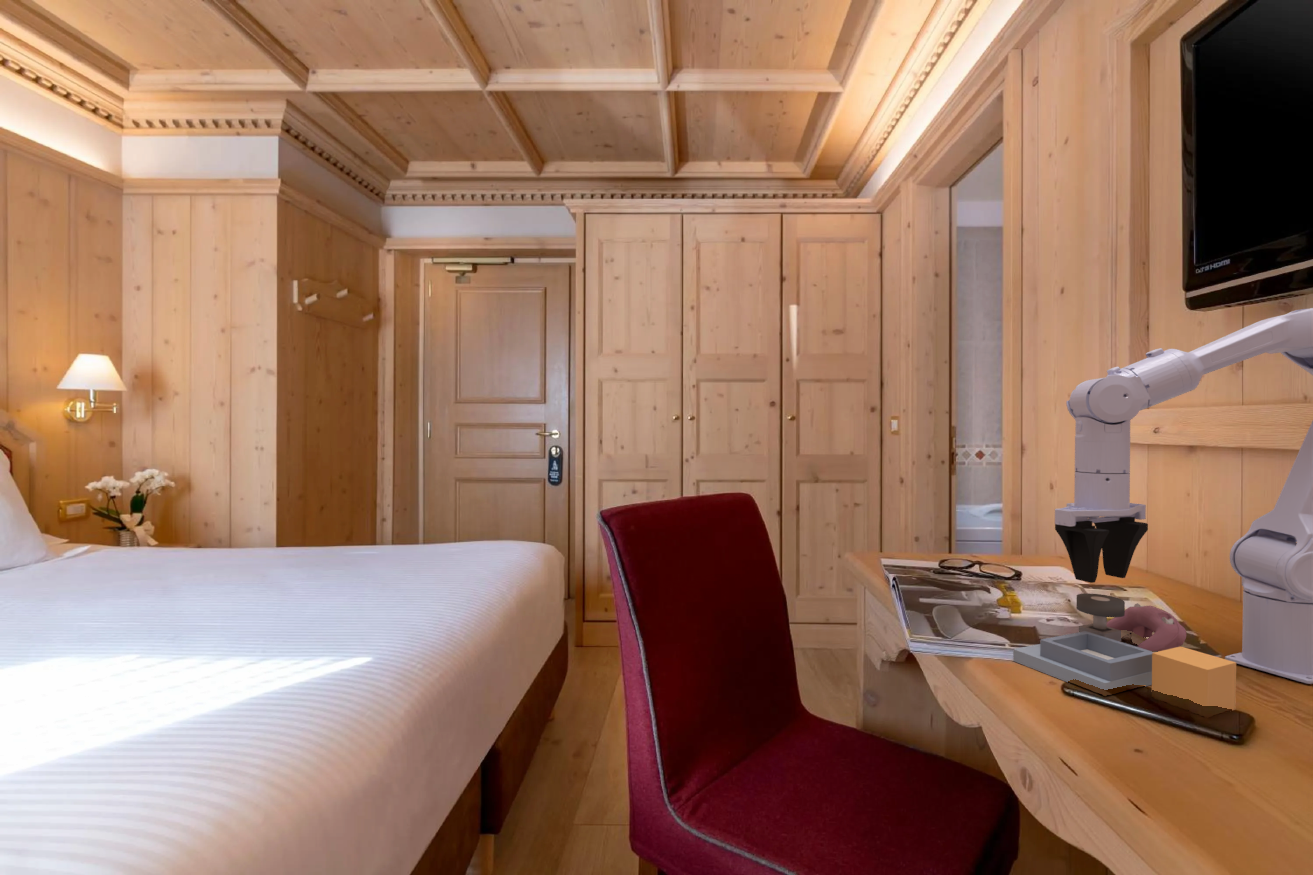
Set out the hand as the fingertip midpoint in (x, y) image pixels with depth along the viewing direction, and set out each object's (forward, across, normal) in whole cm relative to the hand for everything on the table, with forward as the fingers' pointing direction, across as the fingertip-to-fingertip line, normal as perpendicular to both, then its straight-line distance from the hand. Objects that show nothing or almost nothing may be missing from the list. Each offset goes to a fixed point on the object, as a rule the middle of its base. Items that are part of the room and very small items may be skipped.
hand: (1100, 578), depth 79 cm
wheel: (+6, 0, 0) cm, 6 cm away
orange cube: (+10, +5, +13) cm, 17 cm away
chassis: (+10, +5, +3) cm, 11 cm away
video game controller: (+10, -7, +1) cm, 12 cm away
